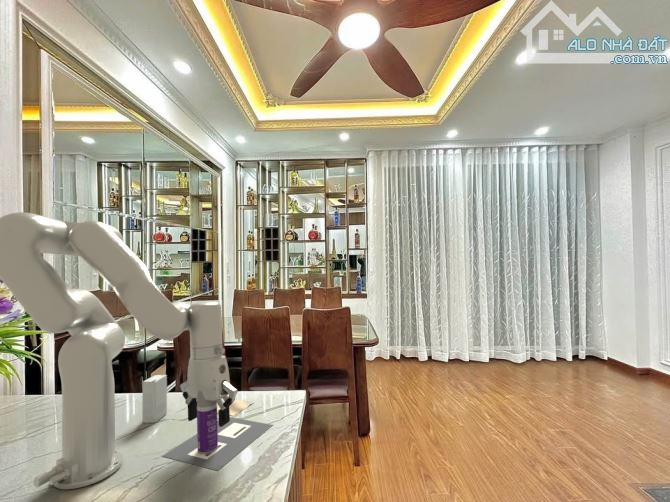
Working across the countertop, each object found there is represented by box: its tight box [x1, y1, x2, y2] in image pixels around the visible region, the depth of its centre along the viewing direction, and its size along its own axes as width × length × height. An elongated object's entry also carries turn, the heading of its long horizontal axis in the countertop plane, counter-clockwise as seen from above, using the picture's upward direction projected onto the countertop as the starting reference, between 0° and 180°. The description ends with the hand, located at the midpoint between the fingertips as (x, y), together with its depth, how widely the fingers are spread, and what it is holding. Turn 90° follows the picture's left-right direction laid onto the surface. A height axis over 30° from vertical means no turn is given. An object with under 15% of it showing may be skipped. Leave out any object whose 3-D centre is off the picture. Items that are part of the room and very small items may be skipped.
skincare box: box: [141, 374, 168, 424], centre depth 100 cm, size 6×4×12 cm
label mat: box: [162, 416, 273, 472], centre depth 86 cm, size 22×17×1 cm
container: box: [196, 391, 218, 454], centre depth 82 cm, size 5×5×15 cm
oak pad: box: [217, 399, 251, 417], centre depth 106 cm, size 10×10×1 cm
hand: (208, 421), depth 82 cm, fingers open, 9 cm apart
